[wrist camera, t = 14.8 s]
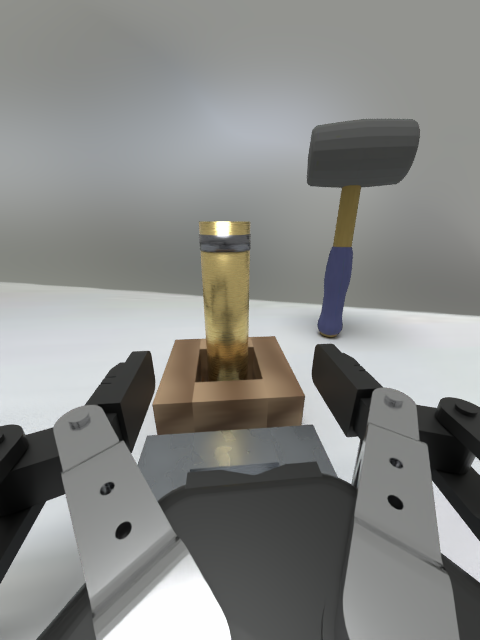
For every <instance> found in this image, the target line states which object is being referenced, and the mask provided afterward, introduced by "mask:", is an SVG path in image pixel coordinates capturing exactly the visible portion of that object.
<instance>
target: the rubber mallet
mask: <svg viewBox="0 0 480 640" xmlns="http://www.w3.org/2000/svg"><path fill="white" fill-rule="evenodd" d="M419 138H420V129H419V125H418V123H417V122H416V121H415V120H413V119H361V120H353V121H345V122H338V123H331V124H325V125H318V126H316V127H315V128H314V129H313V131H312V135H311V142H310V149H309V155H308V170H307V183H308V185H310V186H319V187H339V188H340V187H341V188H342V192H341V198H340V205H339V211H338V217H337V224H336V230H335V237H334V243H333V247H332V249H331V251H330V254H329V258H328V262H327V266H326V272H325V279H324V298H323V305H322V312H321V315H320V318H319V320H318V324H317V325H318V329H319V331H320V334H322V335H323V336H327V337H335V336H337V334H339V332H340V331H341V330H342V326H343V324H342V312H343V307H344V301H345V296H346V292H347V289H348V286H349V282H350V278H351V270H352V259H353V251H352V247H351V246H352V240H353V234H354V227H355V220H356V215H357V209H358V203H359V196H360V190H361V187H372V186H382V185H392V184H397V183H399V182H400V181H401V180H402V179H403V178H404V177H405V176H406V175H407V173H408V171H409V170H410V168H411V166H412V163H413V161H414V158H415V155H416V152H417V148H418V144H419Z"/></svg>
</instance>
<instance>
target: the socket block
mask: <svg viewBox="0 0 480 640" xmlns="http://www.w3.org/2000/svg"><path fill="white" fill-rule="evenodd" d="M315 461H317V464H318V466H319V468H320V471H321V473H325V474H329V475H332V476H335V477H337V475H336V473H335V471H334V468H333V466H332V464H331V462H330V460H329V458H328V456H327V454H326V452H325V449H324V447H323V445H322V443H321V441H320V439H319V437H318V435H317V433H316V430H315V428H314V426H313V425H301V426H286V427H271V428H256V429H241V430H226V431H211V432H197V433H182V434H167V435H152V436H147V438H146V441H145V444H144V447H143V450H142V453H141V456H140V459H139V462H138V465H137V466H138V467H139V469H140V471H141V473H142V475H143V476H144V478H145V480H146V482H147V484H148V485H149V487H150V489H151V491H152V493H153V494H154V496H155V498H156V500H157V501H158V500H159V499H160V498H162V497H163V496H164V495H166V494H167V493H169V492H170V491H172V490H174V489H176V488H178V487H180V486H183V485H186V479H187V472H198V471H210V470H226V471H232V472H237V473H243V474H249V475H257V474H260V473H263V472H265V471H268V470H271V469H274V468H276V467H279V466H282V465H285V464H292V463H304V462H315ZM337 478H338V477H337Z"/></svg>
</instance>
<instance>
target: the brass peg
mask: <svg viewBox="0 0 480 640" xmlns="http://www.w3.org/2000/svg"><path fill="white" fill-rule="evenodd" d="M199 230H200V234H199V241H200V250H201V264H202V281H203V297H204V314H205V331H206V347H207V364H208V381H209V382H215V381H235V380H248V328H249V264H250V258H249V257H250V239H251V238H250V237H251V234H250V222H199Z"/></svg>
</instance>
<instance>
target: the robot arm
mask: <svg viewBox="0 0 480 640" xmlns="http://www.w3.org/2000/svg"><path fill="white" fill-rule="evenodd" d="M312 379H313V383H314V385H315V386H316V388H317V389H318V391H319V393H320V394H321V396H322V398H323V399H324V401H325V403H326V404H327V406H328V408H329V409H330V411H331V412H332V414H333V416H334V417H335V419H336V421H337V422H338V424H339V426H340V427H341V429H342V430H343V432H344V434H345V435H346V437H356V436H358V437H359V438H360V443H359V447H358V453H357V458H356V463H355V468H354V474H353V479H352V484H350V483H348V482H346V481H344V480H342V479H340V478H337V477H335V476H332V475H329V474H325V473H321V471H320V468H319V466H318V464H317V461H315V462H304V463H292V464H285V465H282V466H279V467H276V468H274V469H271V470H268V471H265V472H263V473H260V474H257V475H249V474H243V473H237V472H232V471H226V470H210V471H198V472H187V479H186V485H183V486H180V487H178V488H176V489H174V490H172V491H170V492H169V493H167V494H166V495H164V496H163V497H162V498H160V499H159V500H158V501H157V500H156V498H155V496H154V494H153V493H152V491H151V489H150V487H149V485H148V484H147V482H146V480H145V478H144V476H143V475H142V473H141V471H140V469H139V467H138V466H137V464H136V462H135V460H134V458H133V456H132V455H131V453H132V451H133V448H134V445H135V443H136V440H137V437H138V435H139V432H140V429H141V426H142V424H143V421H144V418H145V416H146V413H147V410H148V407H149V405H150V402H151V399H152V397H153V394H154V391H155V375H154V369H153V362H152V356H151V353H150V351H135V352H132V353H131V354H130V356H129V357H128V359H127V360H126V362H125V363H119V364H118V365H116V366H115V367H113V368H112V369H111V370H110V371H109V372H108V374H107V375H106V377H105V378H104V379H103V381H102V382H101V385H99V386H98V388H97V389H96V390H95V392H94V393H93V395H92V396H91V397H90V399H89V400H88V401H87V403H86V404H85V406H81V407H78V408H75V409H73V410H71V411H69V412H67V413H66V414H64V415H63V416H62V417H61V418H59V420H58V421H57V422H56V423H55V425H54V427H53V428H50V429H46V430H43V431H39V432H35V433H32V434H28V435H25V433H24V431H23V429H22V427H20V426H19V425H5V426H0V583H1V581H2V580H3V578H4V576H5V574H6V572H7V571H8V569H9V567H10V565H11V563H12V562H13V560H14V558H15V556H16V554H17V553H18V551H19V549H20V547H21V545H22V544H23V542H24V540H25V538H26V536H27V535H28V533H29V531H30V529H31V527H32V526H33V524H34V522H35V520H36V518H37V517H38V515H39V513H40V511H41V509H42V508H43V506H44V504H45V502H46V501H48V500H50V499H53V498H56V497H58V496H61V495H64V494H66V498H67V503H68V507H69V511H70V516H71V520H72V525H73V529H74V533H75V538H76V542H77V546H78V551H79V555H80V560H81V564H82V568H83V573H84V577H85V581H86V582H85V583H84V585H83V586H82V587H81V588H80V589H79V590H78V592H77V593H76V594H75V595H74V596H73V597H72V599H71V600H70V601H69V602H68V603H67V604H66V606H65V607H64V608H63V609H62V610H61V611H60V613H59V614H58V615H57V616H56V617H55V618H54V620H53V621H52V622H51V623H50V624H49V625H48V627H47V628H46V629H45V630H44V631H43V632H42V634H41V635H40V636H39V637H38V638H37V639H36V640H480V583H479V582H478V581H477V580H476V579H474V578H473V577H472V576H470V575H469V574H468V573H466V572H465V571H464V570H463V569H461V568H460V567H459V566H457V565H456V564H455V563H454V562H452V561H451V560H450V559H448V558H447V557H446V556H444V555H443V554H442V553H441V552H440V543H439V535H438V527H437V519H436V511H435V502H434V494H433V486H432V481H433V482H434V483H435V485H436V486H437V487H438V488H439V490H440V491H441V492H442V494H443V495H444V496H445V497H446V499H447V500H448V501H449V502H450V504H451V505H452V506H453V508H454V509H455V510H456V511H457V513H458V514H459V515H460V517H461V518H462V519H463V520H464V522H465V523H466V524H467V526H468V527H469V528H470V529H471V531H472V532H473V533H474V535H475V536H476V537H477V538H478V540H479V541H480V475H479V474H478V473H477V472H476V471H475V470H474V469H473V468H472V467H471V464H472V462H473V461H474V459H475V457H477V458H478V459H479V460H480V407H478V406H476V405H474V404H472V403H470V402H468V401H465V400H462V399H458V398H451V397H447V398H442V399H441V400H440V402H439V404H438V407H437V408H433V407H427V406H420V405H416V404H415V402H414V401H413V400H412V399H411V398H410V397H409V396H407V395H406V394H404V393H402V392H400V391H397V390H394V389H391V388H383V387H382V386H381V385H380V384H379V383H378V382H377V381H376V380H375V379H374V378H373V377H372V376H371V375H370V374H369V373H368V372H367V371H365V369H364V368H363V367H362V366H360V364H359V363H358V362H357V361H356V360H355V359H354V358H352V357H350V356H348V355H347V354H345V353H341V352H340V350H339V349H338V348H337V347H336V346H335V345H334V344H317V345H316V347H315V352H314V359H313V366H312Z"/></svg>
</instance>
